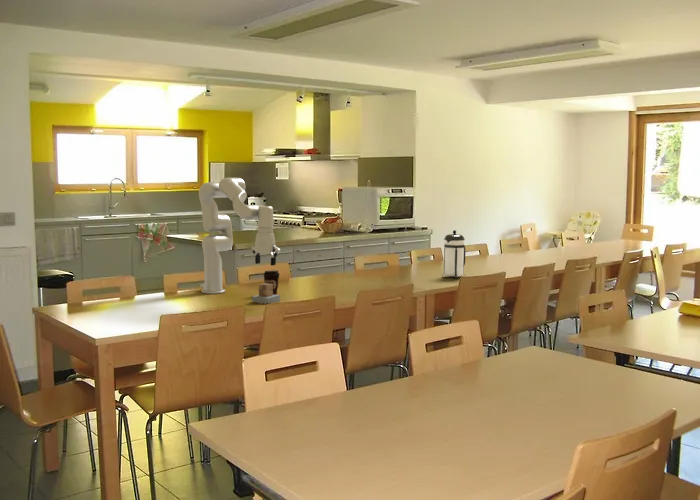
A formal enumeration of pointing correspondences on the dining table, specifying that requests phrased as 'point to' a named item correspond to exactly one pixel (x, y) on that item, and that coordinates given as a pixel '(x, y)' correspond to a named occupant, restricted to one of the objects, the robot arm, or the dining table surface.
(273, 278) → the coffee cup
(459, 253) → the coffee press
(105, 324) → the dining table surface
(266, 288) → the walnut block
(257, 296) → the plinth
